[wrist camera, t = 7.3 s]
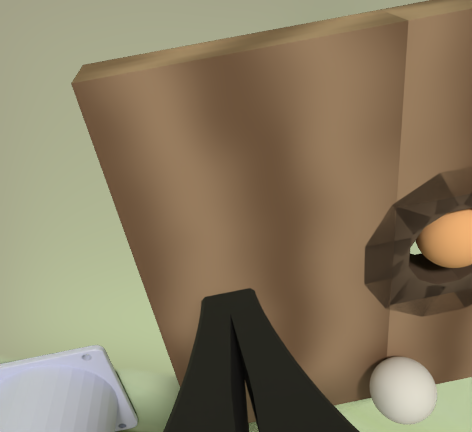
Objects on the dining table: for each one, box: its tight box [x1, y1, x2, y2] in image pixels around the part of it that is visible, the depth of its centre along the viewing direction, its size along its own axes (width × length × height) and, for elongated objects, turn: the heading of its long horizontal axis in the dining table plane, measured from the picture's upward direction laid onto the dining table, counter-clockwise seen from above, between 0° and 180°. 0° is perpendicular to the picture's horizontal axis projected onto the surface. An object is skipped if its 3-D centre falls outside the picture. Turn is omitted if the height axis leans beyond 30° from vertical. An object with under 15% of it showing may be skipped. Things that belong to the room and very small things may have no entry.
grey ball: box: [370, 357, 437, 424], centre depth 25 cm, size 4×4×4 cm
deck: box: [71, 0, 472, 423], centre depth 23 cm, size 20×22×2 cm
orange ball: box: [416, 208, 472, 268], centre depth 22 cm, size 4×4×4 cm
